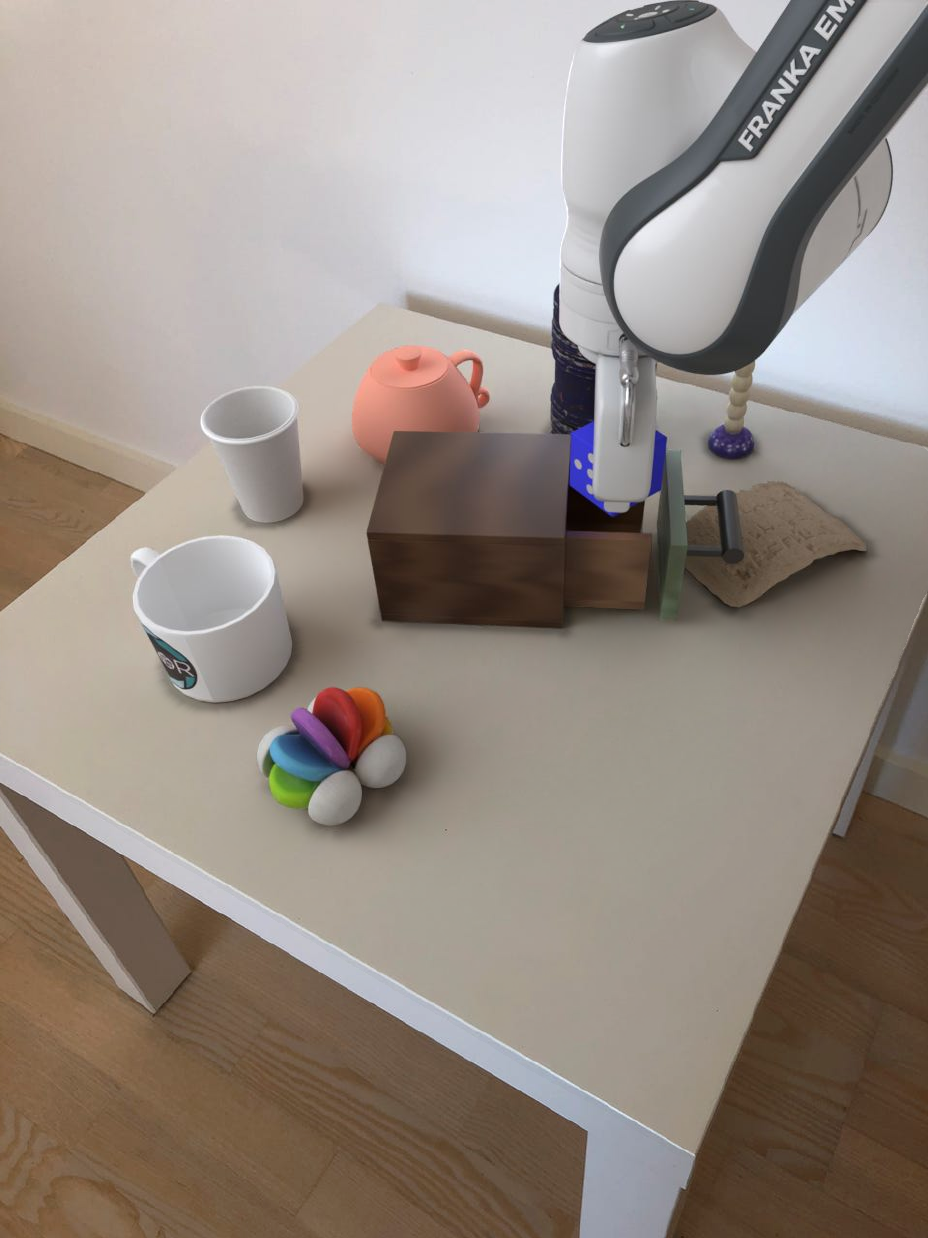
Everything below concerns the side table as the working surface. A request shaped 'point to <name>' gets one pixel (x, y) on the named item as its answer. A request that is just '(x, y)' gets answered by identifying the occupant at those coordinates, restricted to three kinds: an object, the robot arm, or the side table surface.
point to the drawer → (640, 546)
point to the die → (584, 464)
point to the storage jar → (570, 381)
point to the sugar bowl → (416, 396)
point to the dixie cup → (258, 449)
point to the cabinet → (472, 528)
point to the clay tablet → (766, 541)
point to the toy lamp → (735, 420)
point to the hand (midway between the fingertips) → (616, 470)
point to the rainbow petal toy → (332, 754)
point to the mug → (213, 616)
